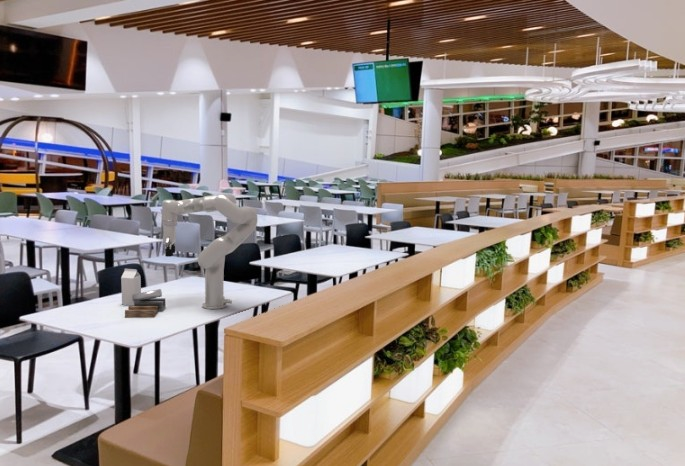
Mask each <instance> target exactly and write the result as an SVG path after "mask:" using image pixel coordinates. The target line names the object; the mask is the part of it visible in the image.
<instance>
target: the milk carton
mask: <svg viewBox="0 0 685 466" xmlns="http://www.w3.org/2000/svg"><path fill="white" fill-rule="evenodd" d="M120 280H121V283H120V285H121V286H120V287H121V305H122V306H128V307H129V306H134V302H133V299H132V295H133V294H138V293H142V287H141V286H142V285H141V284H142V283H141V282H142V281H141V280H142V279H141V274H140V272H138V269H134V268H133V269H132V268H124V271H123V273H122V275H121V277H120Z"/></svg>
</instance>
